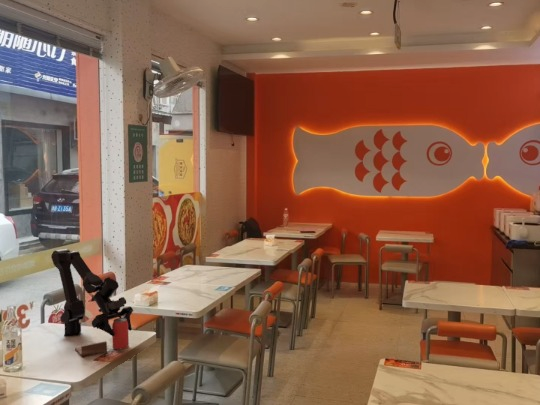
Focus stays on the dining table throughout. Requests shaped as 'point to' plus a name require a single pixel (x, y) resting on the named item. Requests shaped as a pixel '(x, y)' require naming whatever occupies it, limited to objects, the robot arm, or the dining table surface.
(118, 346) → the beer can
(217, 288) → the dining table surface
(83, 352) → the walnut backstop pad
